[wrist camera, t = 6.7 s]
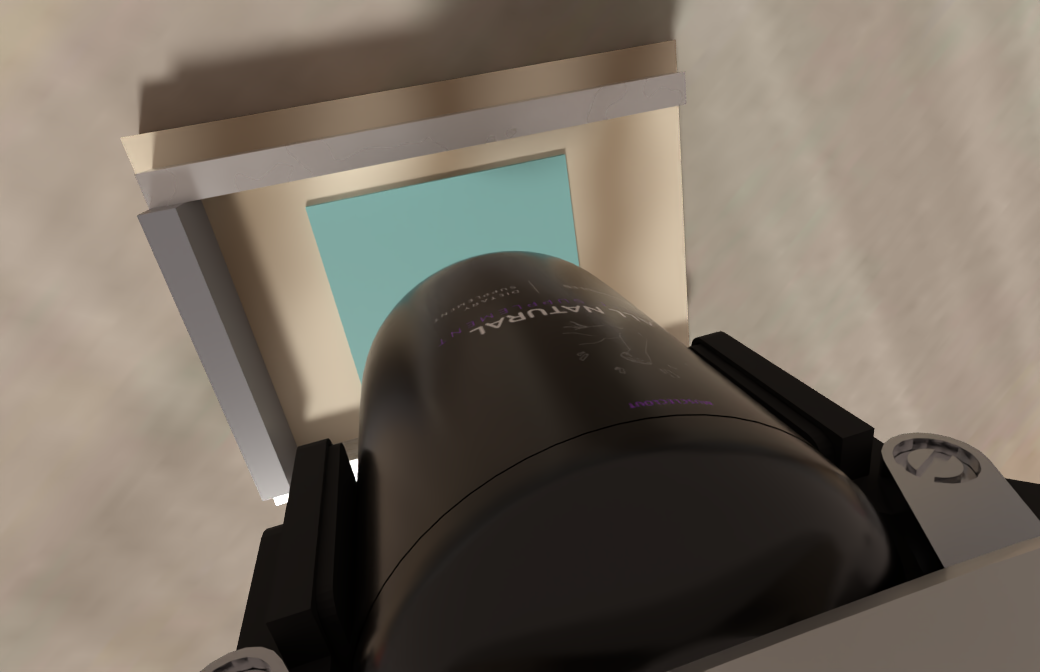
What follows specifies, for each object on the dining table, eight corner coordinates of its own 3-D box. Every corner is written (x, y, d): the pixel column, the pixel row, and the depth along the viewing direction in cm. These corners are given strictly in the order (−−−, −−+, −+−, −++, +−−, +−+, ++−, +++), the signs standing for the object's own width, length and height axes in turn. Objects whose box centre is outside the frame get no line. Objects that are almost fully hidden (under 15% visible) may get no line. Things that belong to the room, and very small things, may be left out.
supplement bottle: (543, 181, 13) (1556, 635, 2) (668, 393, 16) (1337, 1027, 5) (290, 361, 13) (-81, 1756, 2) (464, 537, 16) (686, 1470, 5)
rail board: (656, 43, 21) (714, 31, 18) (674, 374, 27) (722, 416, 23) (138, 134, 18) (82, 143, 15) (282, 481, 24) (267, 548, 21)
